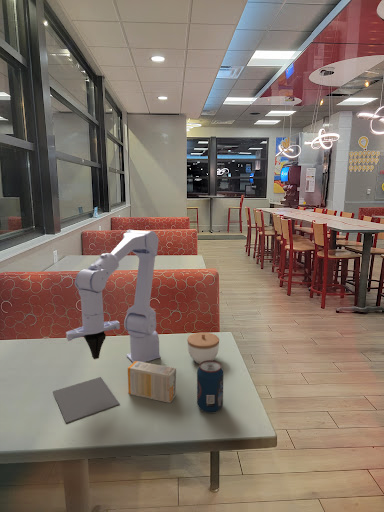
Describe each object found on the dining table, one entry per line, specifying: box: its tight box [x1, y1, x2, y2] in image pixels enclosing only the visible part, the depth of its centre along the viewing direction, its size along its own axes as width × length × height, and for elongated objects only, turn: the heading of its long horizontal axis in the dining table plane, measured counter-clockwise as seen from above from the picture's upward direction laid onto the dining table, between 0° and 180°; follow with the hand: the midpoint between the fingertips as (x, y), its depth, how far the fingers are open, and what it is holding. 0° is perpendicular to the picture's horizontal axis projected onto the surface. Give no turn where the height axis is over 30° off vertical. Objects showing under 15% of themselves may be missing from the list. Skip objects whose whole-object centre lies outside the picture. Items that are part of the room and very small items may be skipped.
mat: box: [52, 376, 121, 424], centre depth 95 cm, size 14×16×1 cm
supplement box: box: [127, 361, 177, 404], centre depth 97 cm, size 8×5×13 cm
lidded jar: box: [186, 331, 220, 365], centre depth 116 cm, size 11×11×9 cm
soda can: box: [196, 359, 224, 414], centre depth 91 cm, size 7×7×12 cm
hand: (95, 357), depth 97 cm, fingers closed
